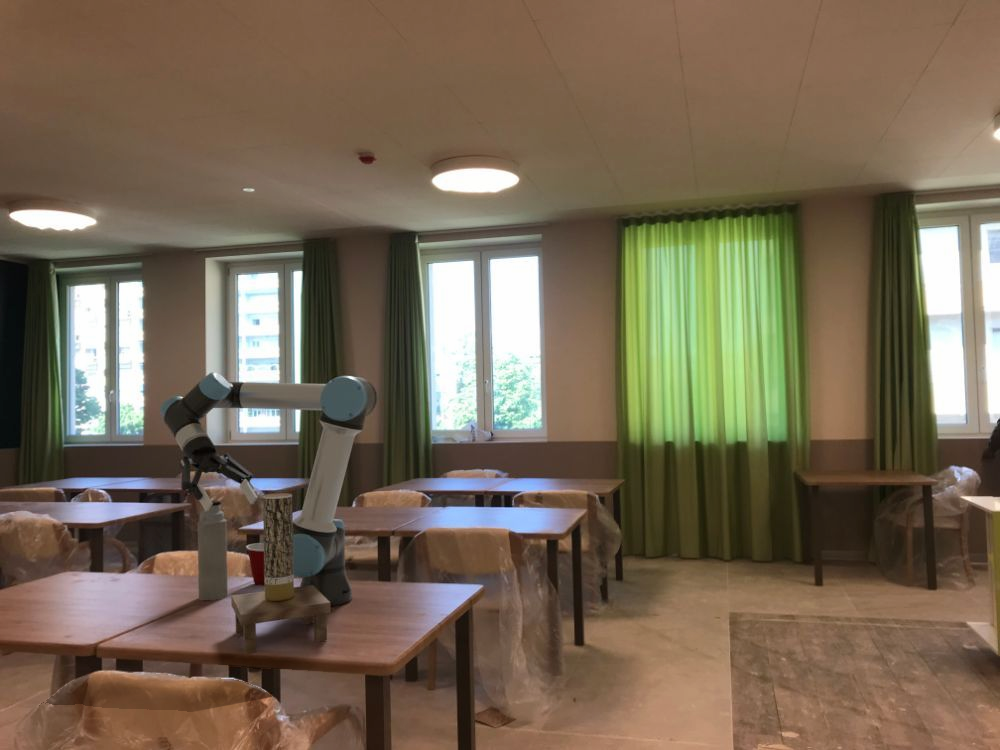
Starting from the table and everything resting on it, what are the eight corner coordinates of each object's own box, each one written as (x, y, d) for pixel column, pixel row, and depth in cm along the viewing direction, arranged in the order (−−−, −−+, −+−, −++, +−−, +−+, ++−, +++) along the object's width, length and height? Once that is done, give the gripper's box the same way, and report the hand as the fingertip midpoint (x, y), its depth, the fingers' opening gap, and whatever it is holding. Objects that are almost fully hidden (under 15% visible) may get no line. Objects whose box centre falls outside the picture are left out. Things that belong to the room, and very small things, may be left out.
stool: (313, 620, 195) (312, 584, 196) (331, 641, 177) (330, 602, 178) (231, 632, 187) (231, 595, 187) (241, 655, 169) (241, 614, 169)
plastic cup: (271, 587, 232) (271, 548, 232) (239, 587, 234) (239, 548, 234) (288, 579, 242) (287, 542, 243) (257, 579, 244) (257, 541, 245)
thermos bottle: (216, 592, 228) (214, 499, 229) (233, 595, 223) (231, 500, 224) (192, 598, 221) (191, 502, 222) (210, 602, 217) (208, 504, 218)
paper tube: (285, 593, 187) (283, 492, 188) (299, 598, 182) (297, 494, 183) (259, 599, 182) (258, 495, 183) (273, 604, 177) (271, 497, 178)
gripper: (229, 451, 213) (265, 507, 205) (146, 457, 193) (182, 521, 184) (241, 432, 211) (278, 488, 202) (158, 437, 190) (195, 500, 181)
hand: (232, 504), depth 193 cm, fingers open, 13 cm apart
